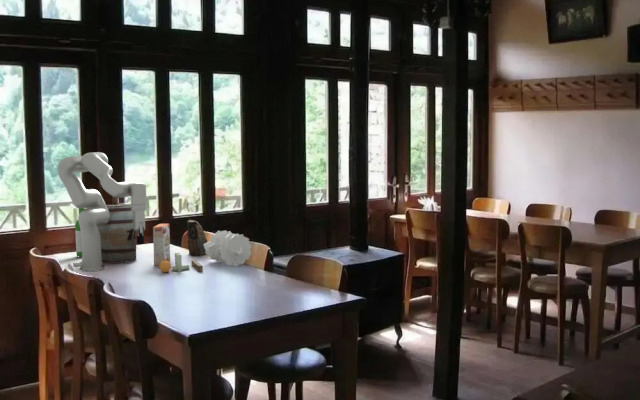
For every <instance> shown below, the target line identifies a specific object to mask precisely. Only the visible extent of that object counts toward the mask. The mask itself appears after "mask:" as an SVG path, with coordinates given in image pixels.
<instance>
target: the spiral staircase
mask: <svg viewBox="0 0 640 400" xmlns="http://www.w3.org/2000/svg"><path fill="white" fill-rule="evenodd" d="M203 245H204V248H205V251H206V252H205V253H206V254H207V255H206V256H208V257H209V258H210V260H214V261H216V262H218V261H219V263H222V264H225V265H227V264H228V265H227V266H233V267H234V266H235V267H237V266H239V265H241V266H243V265H244V263H245V262H246V260H250V256H252V251H251V250H252V249H251V248H252V247H253V245H252V244H251V242H250V238H248V237H247V236H244V234H243V233H242V234H239V233H232V232H231V230H230V231H227V230H217V232H215V233H214V234H212V235H211V238H210V241H208V242H207V243H205V244H203Z"/></svg>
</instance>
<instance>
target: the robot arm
mask: <svg viewBox="0 0 640 400" xmlns="http://www.w3.org/2000/svg"><path fill="white" fill-rule="evenodd" d="M108 163H109V159H108V157H107V155H106V153H104V152H100V151H97V152H95V151H94V152H87V153H85V154H83V155H77V156H73V155H72V156H65V157H64V158H62V159H60V161H59V163H58V164H57V174H58V175H57V176H58V177H59V179H60V181H61V182H62V184H63V185H64V187H65V189H66V192H67V194H68V196H69V197H70V200H71V202H72V203H73V205H74V207H75V208H77V209H79V208H80V209H81V208H84V210H83V211H82V212H81V213H80V214H79V213H78V216H77V217H78V218H77V220H78V221H79V225H80V230H81V242H82V258H81V259H82V260H81V261H79V262H73V264H72V266H73V267H74V268H79V271H80V270H82V271H81V272H98V271H97V270H99V271H103V270H105V269H106V266H105V265H103V263H102V256H101V236H100V232H99V230H98V228H97V226H99V225H104V224H106V223H108V222H109V220H110V213H109V210H108V208H107V206H106V205H107V204H106V202H105V200H104V198H103V196H102V194H101V193H100V192H99V191H98V190H97V189H94V188H89V189H88V188H87V189H86V187H85V186H84V183H83V182H82V180H81V178H79V176H77V175H76V174H77V173H85V172H86V173H87V172H90V173H91V174H92V175H93V176H95V177H96V178H97V179H98V180H99V182H100V186H101V187H102V189H103V190H104V191H105V192H106V193H107V194H109V196H111V197H114V198H116V199H121V198H122V199H123V198H129V197H130V205H131V211H133V229H134V230H135V231H136V245H143V244H144V243H145V239H144V238H145V237H144V231H145V230H146V213H145V211H148V207H147V206H148V204H147V186H146V183H144V182H133V181H121V182H117V181H116V180H115V179H114V178H112V177H111V176H112V175H113V172H114V170H113V168H112V166H111V165H109V164H108ZM86 208H87V209H86ZM102 269H103V270H102Z"/></svg>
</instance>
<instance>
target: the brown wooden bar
mask: <svg viewBox="0 0 640 400" xmlns="http://www.w3.org/2000/svg"><path fill="white" fill-rule="evenodd" d="M190 264H191V267H192V268H194V269H195V270H196V271H197V272H198V273H202V272H203V271H204V269H203V267H204V266H203V265H202V264H201V263H200V262H199V261H197V260H196V259H191V263H190Z"/></svg>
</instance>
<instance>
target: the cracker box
mask: <svg viewBox="0 0 640 400" xmlns="http://www.w3.org/2000/svg"><path fill="white" fill-rule="evenodd" d="M170 231H171V230H170V223H159V224H157V225H155V226H152V237H153V240H152V241H153V265H154V266H156V267H157V266H158V267H159V265H160V263H161V262H162V261H169V262H171V243H170V242H171V239H170V234H171V233H170Z"/></svg>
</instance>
